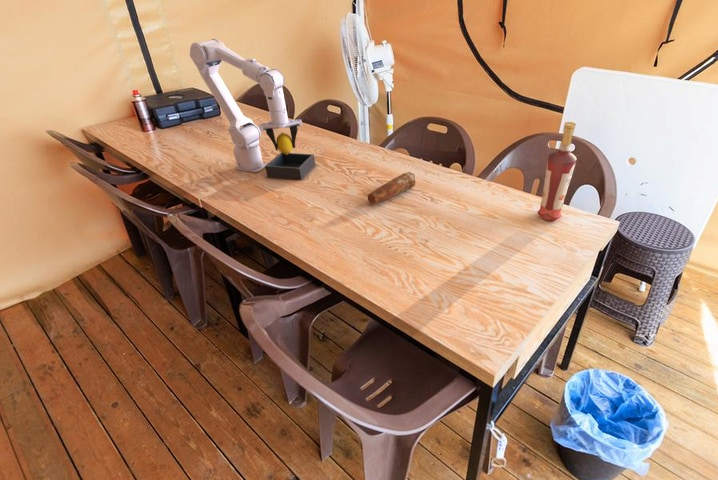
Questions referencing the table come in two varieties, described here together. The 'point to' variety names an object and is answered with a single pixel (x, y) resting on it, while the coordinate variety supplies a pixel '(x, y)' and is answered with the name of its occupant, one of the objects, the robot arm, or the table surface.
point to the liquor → (558, 177)
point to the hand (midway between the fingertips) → (285, 148)
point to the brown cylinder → (392, 188)
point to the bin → (290, 166)
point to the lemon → (284, 143)
